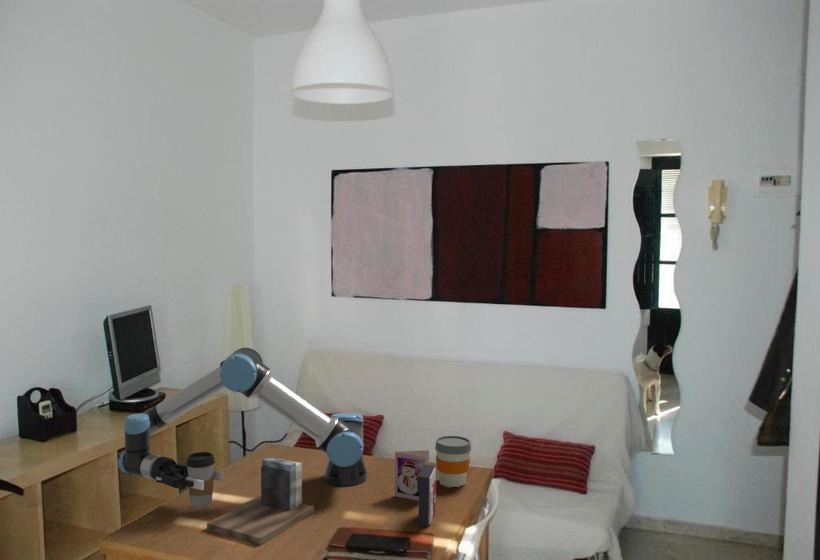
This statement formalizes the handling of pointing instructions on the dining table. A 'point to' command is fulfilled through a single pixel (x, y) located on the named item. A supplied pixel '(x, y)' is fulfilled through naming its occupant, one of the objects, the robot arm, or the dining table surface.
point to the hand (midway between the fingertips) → (212, 480)
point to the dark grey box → (426, 494)
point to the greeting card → (409, 472)
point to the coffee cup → (201, 477)
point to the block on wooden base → (267, 505)
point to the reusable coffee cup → (452, 460)
